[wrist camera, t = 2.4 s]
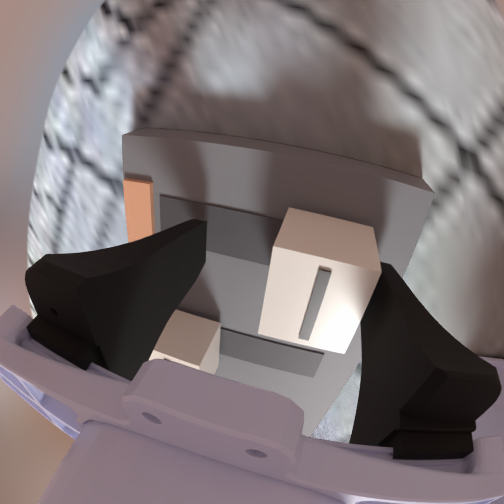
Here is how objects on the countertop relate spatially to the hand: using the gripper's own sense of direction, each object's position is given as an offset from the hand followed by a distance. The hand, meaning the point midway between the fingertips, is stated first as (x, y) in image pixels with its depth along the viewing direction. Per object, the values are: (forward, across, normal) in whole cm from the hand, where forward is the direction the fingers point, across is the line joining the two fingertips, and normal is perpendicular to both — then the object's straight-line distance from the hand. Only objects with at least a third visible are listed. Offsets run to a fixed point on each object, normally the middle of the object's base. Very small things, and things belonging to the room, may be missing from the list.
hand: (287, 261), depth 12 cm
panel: (+3, +2, +8) cm, 8 cm away
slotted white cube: (+1, -1, 0) cm, 2 cm away
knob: (+1, +5, +7) cm, 9 cm away
